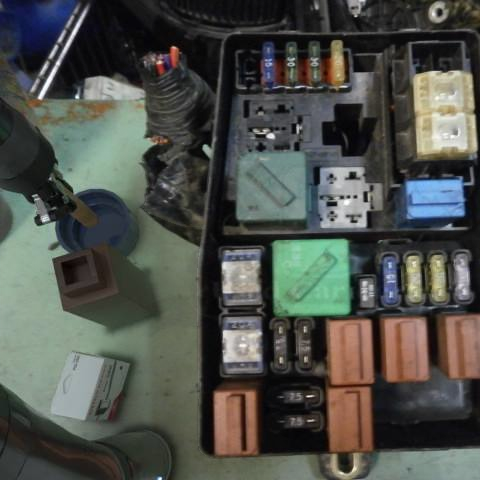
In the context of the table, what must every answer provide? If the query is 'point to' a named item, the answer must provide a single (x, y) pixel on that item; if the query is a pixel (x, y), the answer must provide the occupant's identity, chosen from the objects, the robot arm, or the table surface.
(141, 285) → the stand
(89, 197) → the bowl
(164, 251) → the table surface
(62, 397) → the ink box
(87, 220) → the stirring stick
